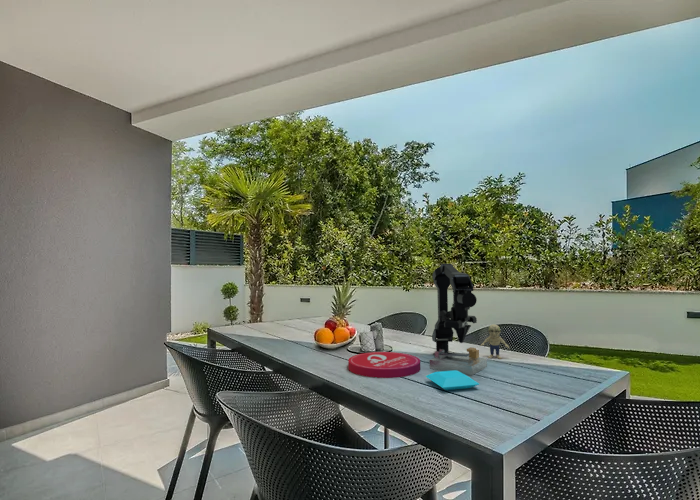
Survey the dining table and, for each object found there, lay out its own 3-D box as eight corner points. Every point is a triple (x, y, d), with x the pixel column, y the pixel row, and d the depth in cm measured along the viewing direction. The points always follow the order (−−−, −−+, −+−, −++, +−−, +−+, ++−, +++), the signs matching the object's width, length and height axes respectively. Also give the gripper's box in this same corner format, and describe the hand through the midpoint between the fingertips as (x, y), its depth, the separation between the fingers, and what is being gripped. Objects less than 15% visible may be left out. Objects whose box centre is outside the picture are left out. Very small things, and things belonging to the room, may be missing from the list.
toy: (479, 357, 185) (479, 324, 185) (480, 355, 190) (480, 323, 191) (509, 360, 180) (508, 326, 181) (509, 357, 186) (509, 324, 186)
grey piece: (446, 360, 181) (446, 345, 181) (487, 366, 169) (486, 350, 170) (429, 368, 168) (429, 352, 168) (471, 375, 157) (471, 358, 157)
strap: (440, 354, 172) (439, 351, 173) (469, 355, 164) (469, 352, 164) (436, 355, 170) (436, 352, 170) (466, 357, 162) (466, 354, 162)
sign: (434, 367, 171) (379, 356, 192) (434, 358, 171) (378, 348, 192) (390, 383, 149) (333, 369, 170) (390, 373, 149) (333, 360, 170)
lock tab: (471, 356, 173) (471, 346, 173) (479, 357, 171) (478, 347, 171) (466, 358, 168) (465, 348, 168) (473, 360, 166) (473, 349, 166)
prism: (442, 395, 137) (442, 381, 137) (425, 382, 150) (424, 370, 150) (480, 390, 140) (479, 377, 140) (460, 378, 154) (459, 366, 154)
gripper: (452, 301, 179) (452, 336, 179) (432, 305, 165) (432, 344, 164) (476, 302, 172) (477, 339, 172) (457, 307, 158) (458, 347, 157)
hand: (461, 342), depth 166 cm, fingers closed
